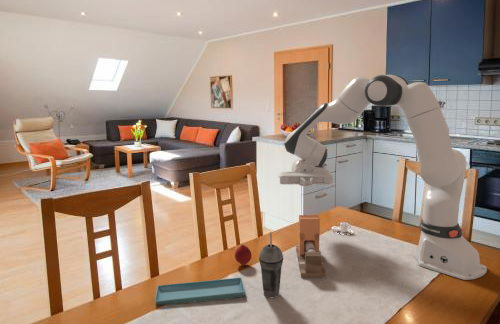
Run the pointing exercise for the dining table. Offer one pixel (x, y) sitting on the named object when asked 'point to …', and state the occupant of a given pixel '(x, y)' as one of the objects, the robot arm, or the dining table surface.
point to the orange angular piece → (309, 231)
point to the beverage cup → (271, 268)
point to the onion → (243, 254)
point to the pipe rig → (310, 261)
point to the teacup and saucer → (342, 228)
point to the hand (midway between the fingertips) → (307, 183)
